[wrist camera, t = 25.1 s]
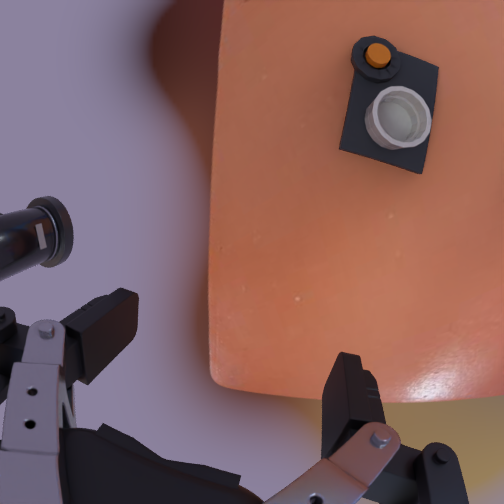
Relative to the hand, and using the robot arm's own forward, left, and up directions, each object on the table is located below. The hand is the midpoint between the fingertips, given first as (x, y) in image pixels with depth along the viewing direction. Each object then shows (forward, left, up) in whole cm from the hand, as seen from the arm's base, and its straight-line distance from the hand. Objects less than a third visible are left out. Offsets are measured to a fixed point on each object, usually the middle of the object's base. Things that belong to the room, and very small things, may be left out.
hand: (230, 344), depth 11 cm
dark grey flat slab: (+9, +17, -26) cm, 32 cm away
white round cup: (+9, +15, -25) cm, 30 cm away
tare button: (+6, +22, -23) cm, 32 cm away
